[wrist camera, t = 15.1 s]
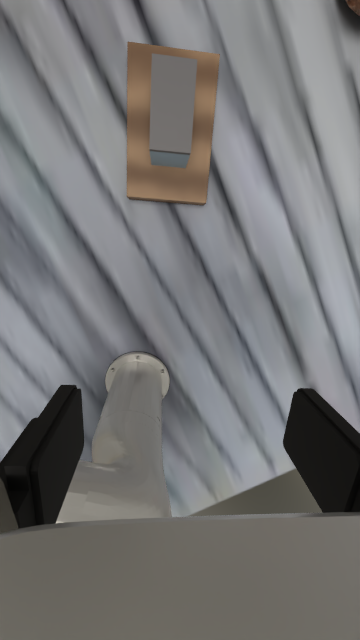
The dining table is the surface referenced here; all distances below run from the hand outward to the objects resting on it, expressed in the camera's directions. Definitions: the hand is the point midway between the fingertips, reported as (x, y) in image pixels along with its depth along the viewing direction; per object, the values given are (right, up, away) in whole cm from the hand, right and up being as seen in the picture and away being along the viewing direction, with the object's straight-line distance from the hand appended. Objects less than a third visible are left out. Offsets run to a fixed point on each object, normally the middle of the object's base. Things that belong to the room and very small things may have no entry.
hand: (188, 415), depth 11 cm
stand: (-2, +32, +27) cm, 42 cm away
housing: (-2, +31, +25) cm, 40 cm away
